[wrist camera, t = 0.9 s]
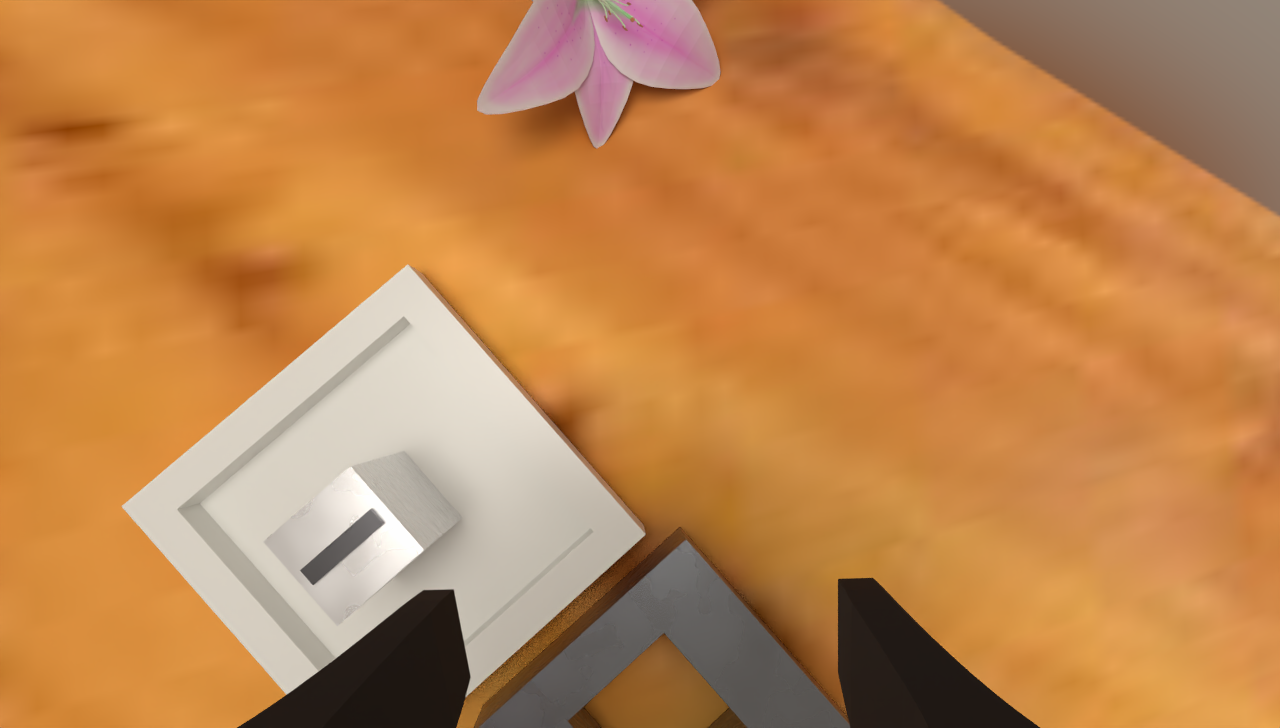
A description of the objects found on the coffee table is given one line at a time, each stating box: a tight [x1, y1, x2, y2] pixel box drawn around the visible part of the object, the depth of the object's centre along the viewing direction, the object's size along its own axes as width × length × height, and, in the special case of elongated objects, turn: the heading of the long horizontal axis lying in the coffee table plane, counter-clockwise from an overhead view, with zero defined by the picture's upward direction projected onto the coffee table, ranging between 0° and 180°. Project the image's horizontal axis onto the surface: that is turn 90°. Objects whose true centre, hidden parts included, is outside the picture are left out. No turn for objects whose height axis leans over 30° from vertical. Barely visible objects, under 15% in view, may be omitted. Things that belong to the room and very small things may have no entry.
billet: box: [263, 451, 463, 626], centre depth 26 cm, size 4×4×6 cm
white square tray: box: [122, 265, 646, 697], centre depth 29 cm, size 16×16×2 cm
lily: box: [477, 0, 721, 148], centre depth 27 cm, size 12×12×10 cm
